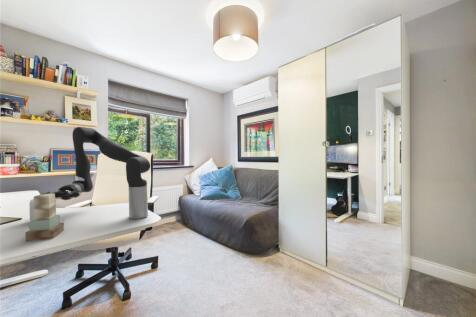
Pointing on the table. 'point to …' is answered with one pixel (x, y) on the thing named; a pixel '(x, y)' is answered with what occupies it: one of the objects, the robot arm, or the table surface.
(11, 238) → the table surface
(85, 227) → the table surface
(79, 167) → the robot arm
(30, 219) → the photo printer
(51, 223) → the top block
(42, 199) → the ash block
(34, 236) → the bottom block
